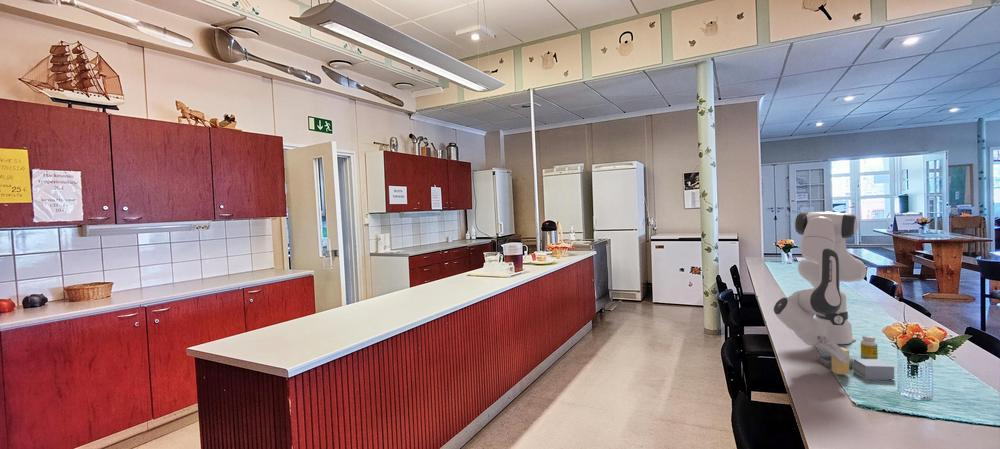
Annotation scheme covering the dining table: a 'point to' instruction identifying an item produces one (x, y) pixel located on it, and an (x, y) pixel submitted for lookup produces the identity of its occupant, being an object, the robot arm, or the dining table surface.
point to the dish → (828, 361)
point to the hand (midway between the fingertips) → (842, 359)
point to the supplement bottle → (868, 347)
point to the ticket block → (873, 369)
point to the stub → (840, 364)
